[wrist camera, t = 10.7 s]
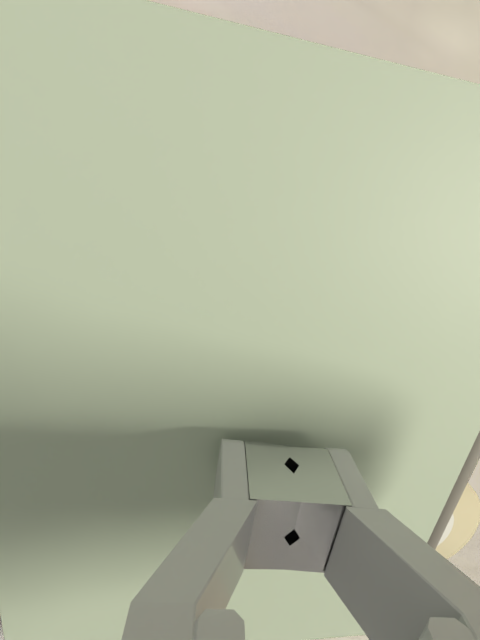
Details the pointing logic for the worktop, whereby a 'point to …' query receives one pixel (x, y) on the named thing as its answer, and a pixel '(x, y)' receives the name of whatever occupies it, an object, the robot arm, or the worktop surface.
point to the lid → (219, 295)
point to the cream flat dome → (460, 524)
